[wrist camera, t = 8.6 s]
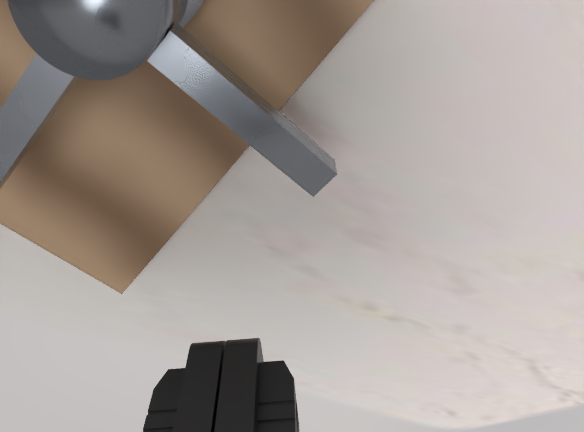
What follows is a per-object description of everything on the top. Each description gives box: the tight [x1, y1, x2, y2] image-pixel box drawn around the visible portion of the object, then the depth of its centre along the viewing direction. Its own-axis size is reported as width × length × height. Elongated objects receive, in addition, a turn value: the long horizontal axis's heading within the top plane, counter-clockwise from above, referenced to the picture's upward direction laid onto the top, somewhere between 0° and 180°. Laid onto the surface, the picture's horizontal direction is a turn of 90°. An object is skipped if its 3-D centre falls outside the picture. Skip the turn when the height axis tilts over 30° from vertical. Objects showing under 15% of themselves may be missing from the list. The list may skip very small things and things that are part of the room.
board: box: [0, 0, 374, 294], centre depth 21 cm, size 20×14×2 cm
